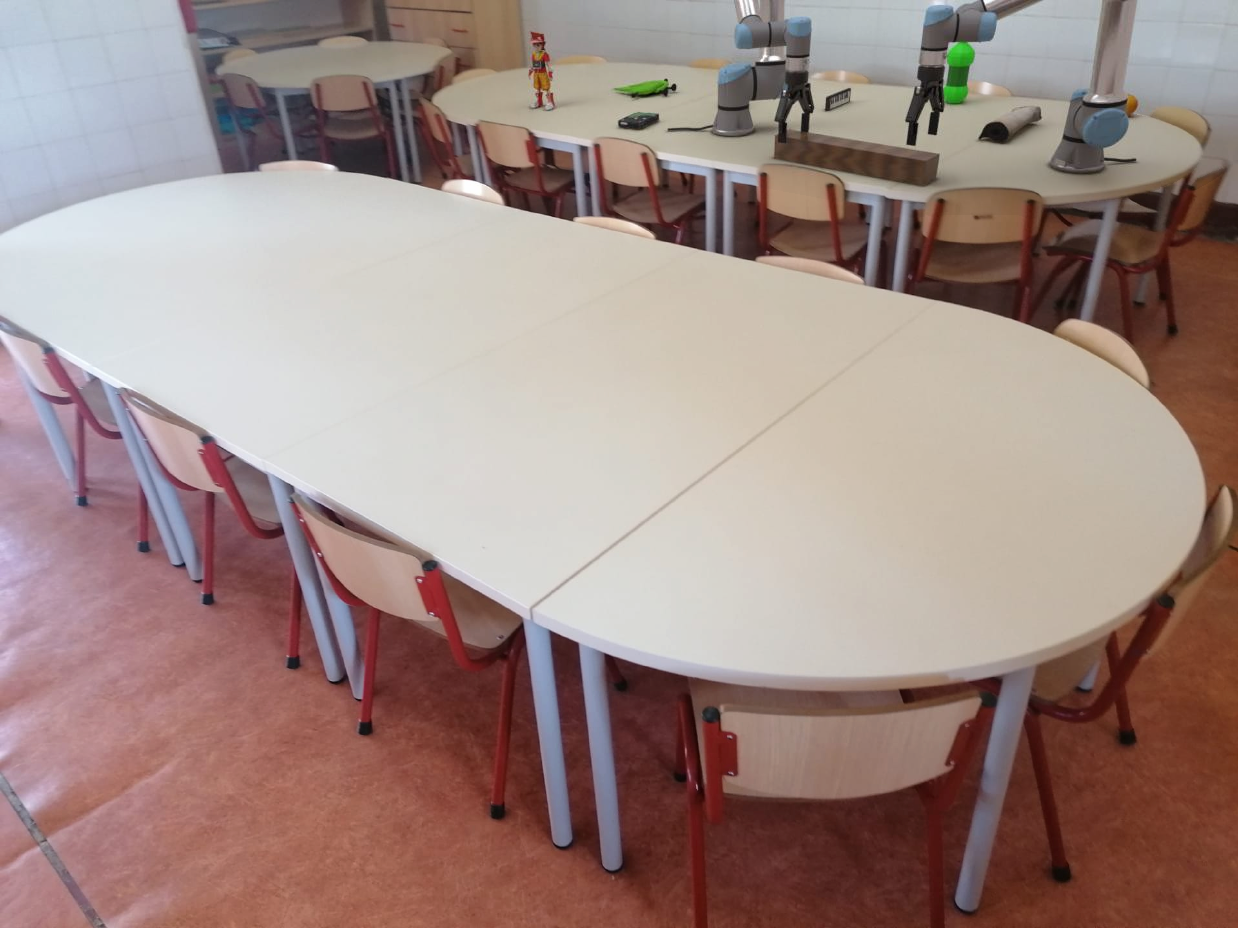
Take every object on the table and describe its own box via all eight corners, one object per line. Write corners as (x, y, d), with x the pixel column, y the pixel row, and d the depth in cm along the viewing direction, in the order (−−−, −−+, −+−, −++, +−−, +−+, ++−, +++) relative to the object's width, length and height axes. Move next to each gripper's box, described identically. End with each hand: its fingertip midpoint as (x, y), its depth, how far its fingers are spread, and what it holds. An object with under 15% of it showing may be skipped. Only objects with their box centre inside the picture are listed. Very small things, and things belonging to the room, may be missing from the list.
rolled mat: (1009, 110, 328) (1033, 93, 320) (1023, 131, 328) (1047, 114, 320) (974, 133, 311) (998, 115, 302) (988, 155, 311) (1013, 138, 303)
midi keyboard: (827, 110, 354) (828, 97, 351) (824, 110, 354) (825, 97, 352) (850, 101, 364) (851, 88, 361) (847, 101, 365) (848, 88, 362)
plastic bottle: (973, 101, 354) (984, 32, 339) (955, 106, 349) (966, 36, 335) (952, 97, 361) (962, 29, 346) (934, 102, 356) (944, 33, 342)
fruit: (1107, 107, 323) (1124, 87, 320) (1104, 110, 331) (1120, 91, 328) (1128, 120, 322) (1144, 99, 319) (1124, 123, 330) (1140, 103, 327)
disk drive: (640, 130, 344) (659, 120, 354) (640, 123, 343) (659, 113, 353) (617, 128, 349) (637, 118, 359) (617, 120, 348) (636, 111, 358)
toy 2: (686, 85, 398) (631, 84, 414) (685, 72, 395) (629, 72, 411) (651, 104, 381) (596, 103, 397) (650, 92, 378) (594, 91, 394)
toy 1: (525, 109, 381) (517, 32, 364) (534, 104, 388) (527, 28, 371) (550, 110, 377) (543, 32, 360) (559, 105, 384) (553, 28, 367)
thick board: (773, 158, 306) (774, 135, 302) (788, 152, 311) (789, 129, 307) (922, 186, 275) (926, 161, 270) (936, 178, 280) (939, 153, 275)
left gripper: (785, 78, 281) (781, 148, 293) (827, 64, 296) (823, 131, 307) (765, 76, 285) (762, 145, 297) (808, 63, 300) (804, 128, 312)
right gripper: (923, 74, 251) (913, 151, 263) (963, 58, 266) (952, 132, 278) (899, 72, 256) (890, 148, 268) (939, 56, 270) (929, 128, 282)
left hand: (793, 138), depth 302 cm, fingers open, 13 cm apart
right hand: (921, 140), depth 273 cm, fingers open, 13 cm apart
